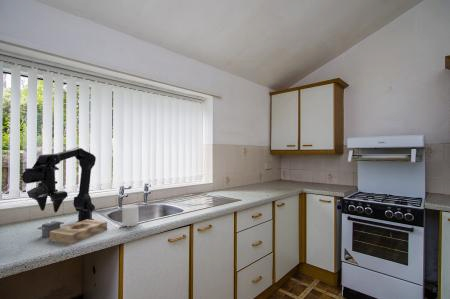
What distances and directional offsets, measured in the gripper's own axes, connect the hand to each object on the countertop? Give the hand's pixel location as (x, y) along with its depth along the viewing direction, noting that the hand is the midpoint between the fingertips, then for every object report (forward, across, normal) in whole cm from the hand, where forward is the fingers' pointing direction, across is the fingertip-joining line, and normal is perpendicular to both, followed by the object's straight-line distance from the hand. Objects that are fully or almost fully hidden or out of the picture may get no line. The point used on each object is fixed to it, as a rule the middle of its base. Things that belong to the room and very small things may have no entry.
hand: (49, 211), depth 117 cm
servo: (+12, +1, 0) cm, 12 cm away
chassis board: (+12, +14, +5) cm, 19 cm away
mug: (+13, +25, +26) cm, 39 cm away
